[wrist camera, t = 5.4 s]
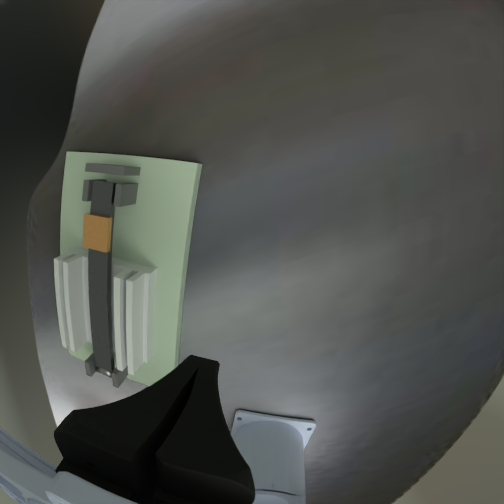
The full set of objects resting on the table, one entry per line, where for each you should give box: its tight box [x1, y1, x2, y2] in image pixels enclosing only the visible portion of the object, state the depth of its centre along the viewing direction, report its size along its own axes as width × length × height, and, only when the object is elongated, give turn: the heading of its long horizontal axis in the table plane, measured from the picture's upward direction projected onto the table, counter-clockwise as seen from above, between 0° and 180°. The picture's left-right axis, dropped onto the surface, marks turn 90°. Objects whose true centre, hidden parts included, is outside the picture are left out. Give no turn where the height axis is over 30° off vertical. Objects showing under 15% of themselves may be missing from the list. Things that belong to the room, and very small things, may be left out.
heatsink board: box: [54, 152, 202, 388], centre depth 21 cm, size 20×12×5 cm, turn 170°
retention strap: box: [83, 181, 118, 378], centre depth 20 cm, size 16×2×1 cm, turn 170°
